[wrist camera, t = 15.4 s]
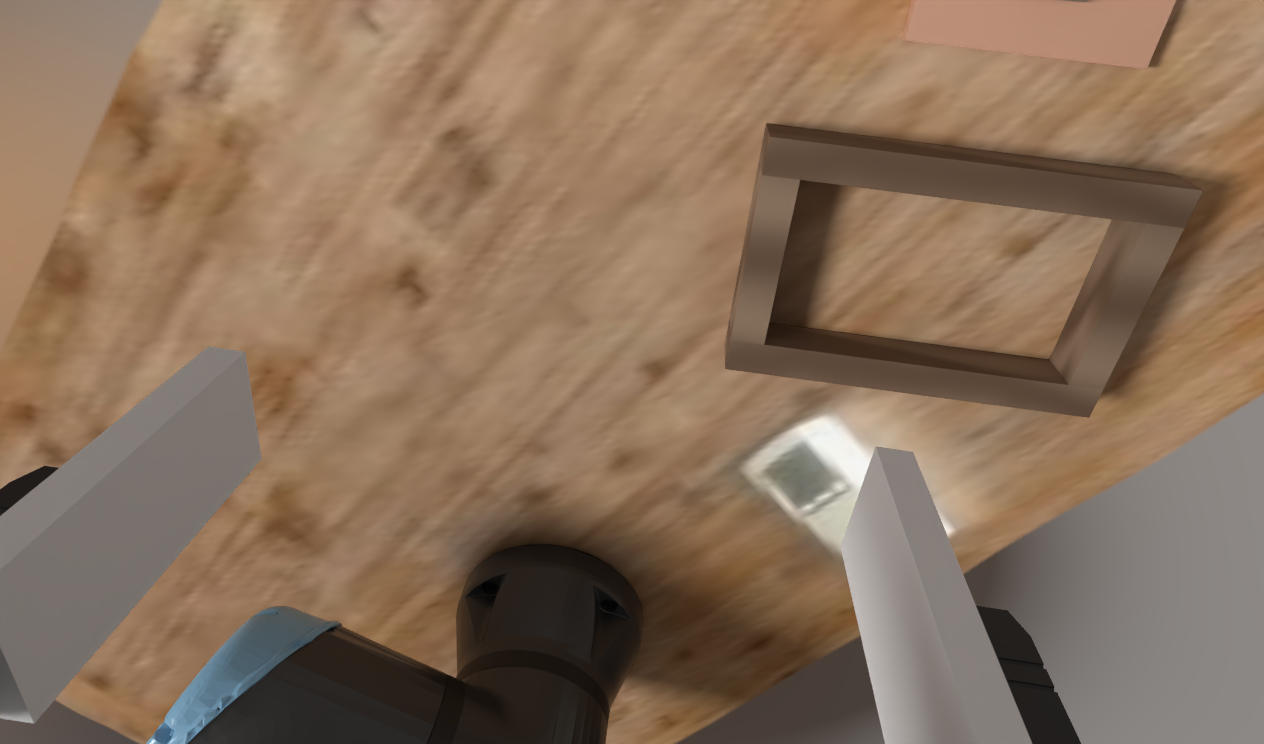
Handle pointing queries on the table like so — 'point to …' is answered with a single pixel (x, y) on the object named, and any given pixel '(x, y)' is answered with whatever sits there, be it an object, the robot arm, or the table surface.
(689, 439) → the table surface
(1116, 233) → the block
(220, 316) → the table surface
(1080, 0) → the flask
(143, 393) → the table surface
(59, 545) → the robot arm
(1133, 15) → the terracotta tile
